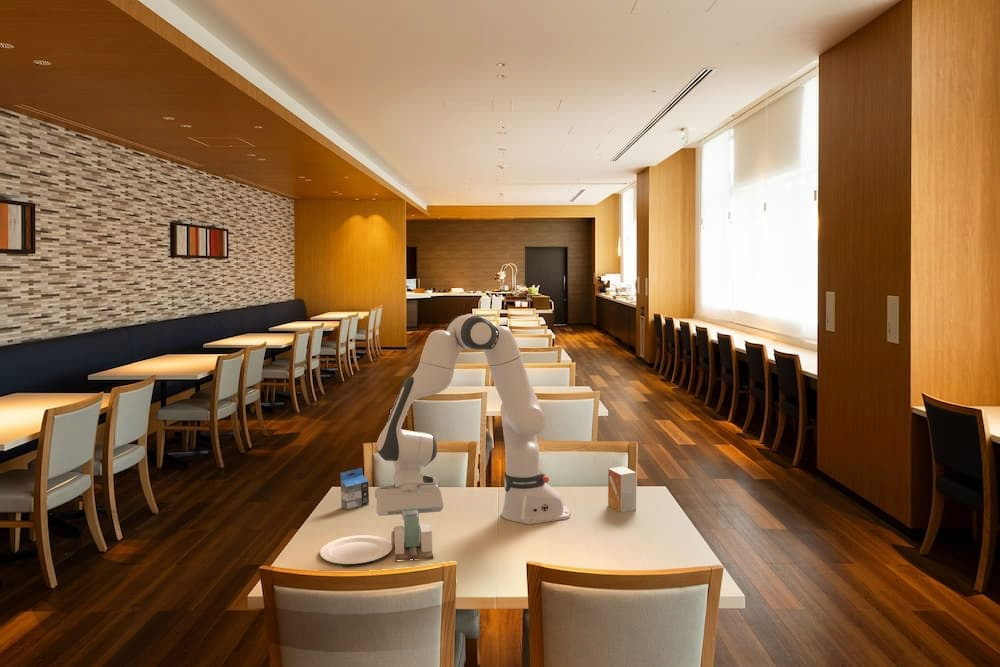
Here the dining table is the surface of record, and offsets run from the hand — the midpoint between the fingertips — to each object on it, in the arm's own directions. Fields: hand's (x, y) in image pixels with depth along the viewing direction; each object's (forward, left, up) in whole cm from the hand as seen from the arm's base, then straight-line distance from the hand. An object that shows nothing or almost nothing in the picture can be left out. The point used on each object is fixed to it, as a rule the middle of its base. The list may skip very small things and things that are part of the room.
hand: (410, 526), depth 225 cm
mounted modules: (0, +7, -4) cm, 8 cm away
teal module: (0, +4, -4) cm, 5 cm away
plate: (+16, +4, -6) cm, 18 cm away
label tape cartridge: (+17, -37, -6) cm, 42 cm away
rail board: (0, +1, -5) cm, 5 cm away
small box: (-72, -17, -6) cm, 74 cm away
